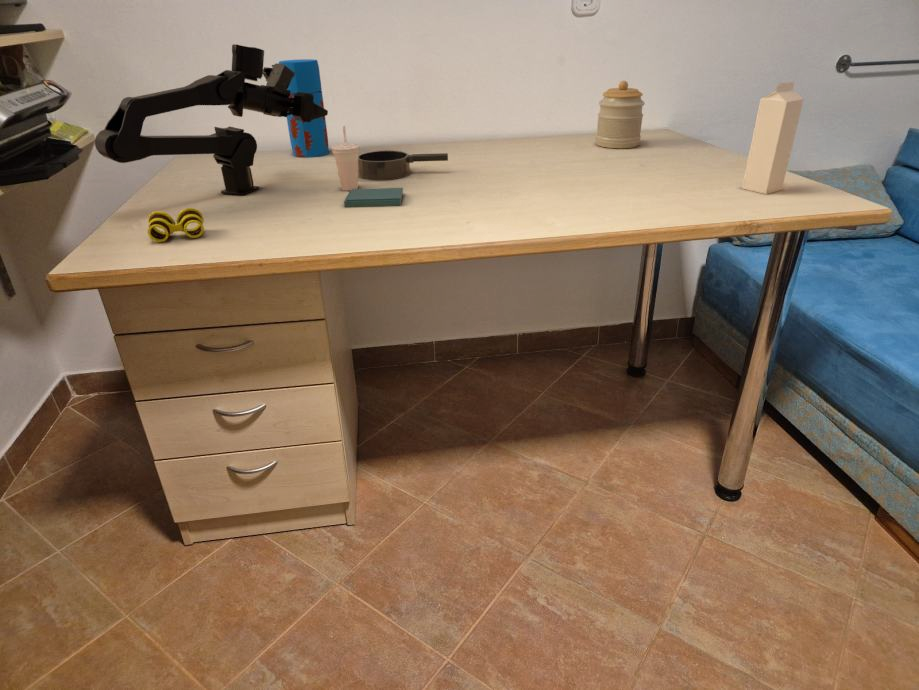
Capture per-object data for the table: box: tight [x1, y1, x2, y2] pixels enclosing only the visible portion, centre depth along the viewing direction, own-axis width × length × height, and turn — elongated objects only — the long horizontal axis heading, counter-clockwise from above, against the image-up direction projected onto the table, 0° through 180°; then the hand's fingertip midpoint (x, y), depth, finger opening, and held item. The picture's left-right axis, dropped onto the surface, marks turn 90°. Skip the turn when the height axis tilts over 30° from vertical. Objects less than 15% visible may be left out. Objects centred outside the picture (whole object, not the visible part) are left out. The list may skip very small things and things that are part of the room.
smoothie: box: [331, 125, 360, 191], centre depth 139 cm, size 6×6×14 cm
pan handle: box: [409, 152, 449, 164], centre depth 153 cm, size 10×2×2 cm, turn 91°
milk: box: [741, 81, 804, 195], centre depth 129 cm, size 6×6×22 cm
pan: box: [358, 150, 411, 181], centre depth 153 cm, size 13×13×4 cm
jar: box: [595, 80, 646, 149], centre depth 176 cm, size 13×13×18 cm
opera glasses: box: [147, 207, 205, 243], centre depth 113 cm, size 10×5×5 cm, turn 110°
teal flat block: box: [343, 187, 404, 208], centre depth 133 cm, size 12×9×2 cm
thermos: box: [278, 58, 330, 158], centre depth 172 cm, size 11×11×25 cm
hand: (316, 111), depth 150 cm, fingers open, 9 cm apart
